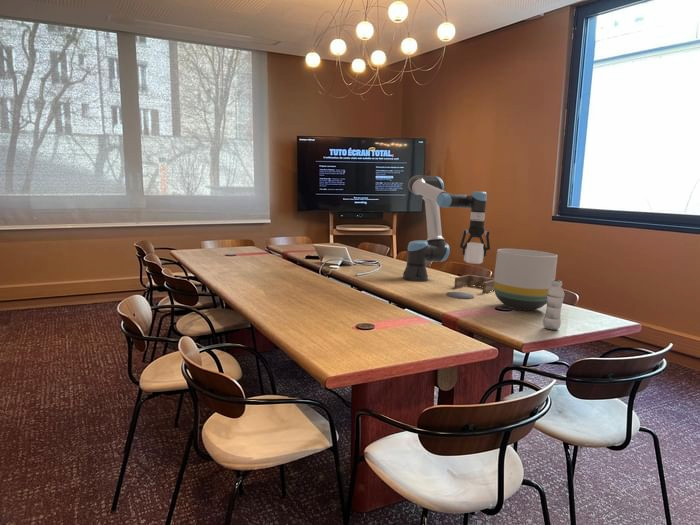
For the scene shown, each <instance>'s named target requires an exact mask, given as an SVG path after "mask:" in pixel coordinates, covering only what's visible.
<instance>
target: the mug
mask: <svg viewBox="0 0 700 525" xmlns="http://www.w3.org/2000/svg"><path fill="white" fill-rule="evenodd" d="M484 244H485V243H484ZM484 244H482V243H481V242H473V241H470V242H469V243H467V247H466V249H467V251H466V261H465V262H466V263H467V264H475V265H480V264H482V256H483V250H484V249H483V245H484Z"/></svg>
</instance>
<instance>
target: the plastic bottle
mask: <svg viewBox="0 0 700 525" xmlns="http://www.w3.org/2000/svg"><path fill="white" fill-rule="evenodd" d="M551 285H552V287H551V288H550V289H549V290H548V292H547V304H546V308H545V309H546V310H545V314H544V317H543V321H542V326H543V327H544V329H547V330H551V331H552V330H555V331H556V330H557V331H558V330H559V329H560V328H561V325H562V324H561V323H562V322H561V320H562V319H561V317H562V316H561V313H562V312H561V311H562V306H563V302H564V300H565V299H564V298H565V296H566V294H565V291H564V289H563V288H562V286H563V281H562V280H559V279H558V280H557V279H555V280H552V284H551Z"/></svg>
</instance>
